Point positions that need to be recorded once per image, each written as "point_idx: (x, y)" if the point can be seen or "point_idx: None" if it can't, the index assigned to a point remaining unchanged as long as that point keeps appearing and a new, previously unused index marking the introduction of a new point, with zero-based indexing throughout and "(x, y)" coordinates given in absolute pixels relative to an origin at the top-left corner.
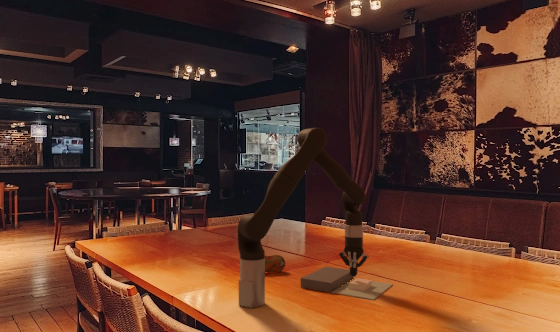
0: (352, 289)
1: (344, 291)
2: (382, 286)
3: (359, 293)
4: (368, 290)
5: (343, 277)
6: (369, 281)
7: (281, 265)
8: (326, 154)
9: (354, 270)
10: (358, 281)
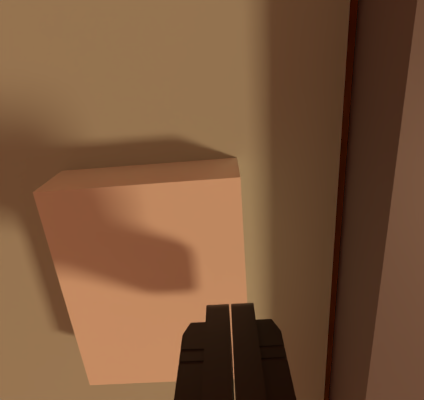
0: (189, 158)
1: (225, 33)
2: (34, 369)
3: (54, 68)
4: None
5: (368, 305)
6: (83, 344)
7: None
8: None
9: (203, 375)
10: (172, 289)
